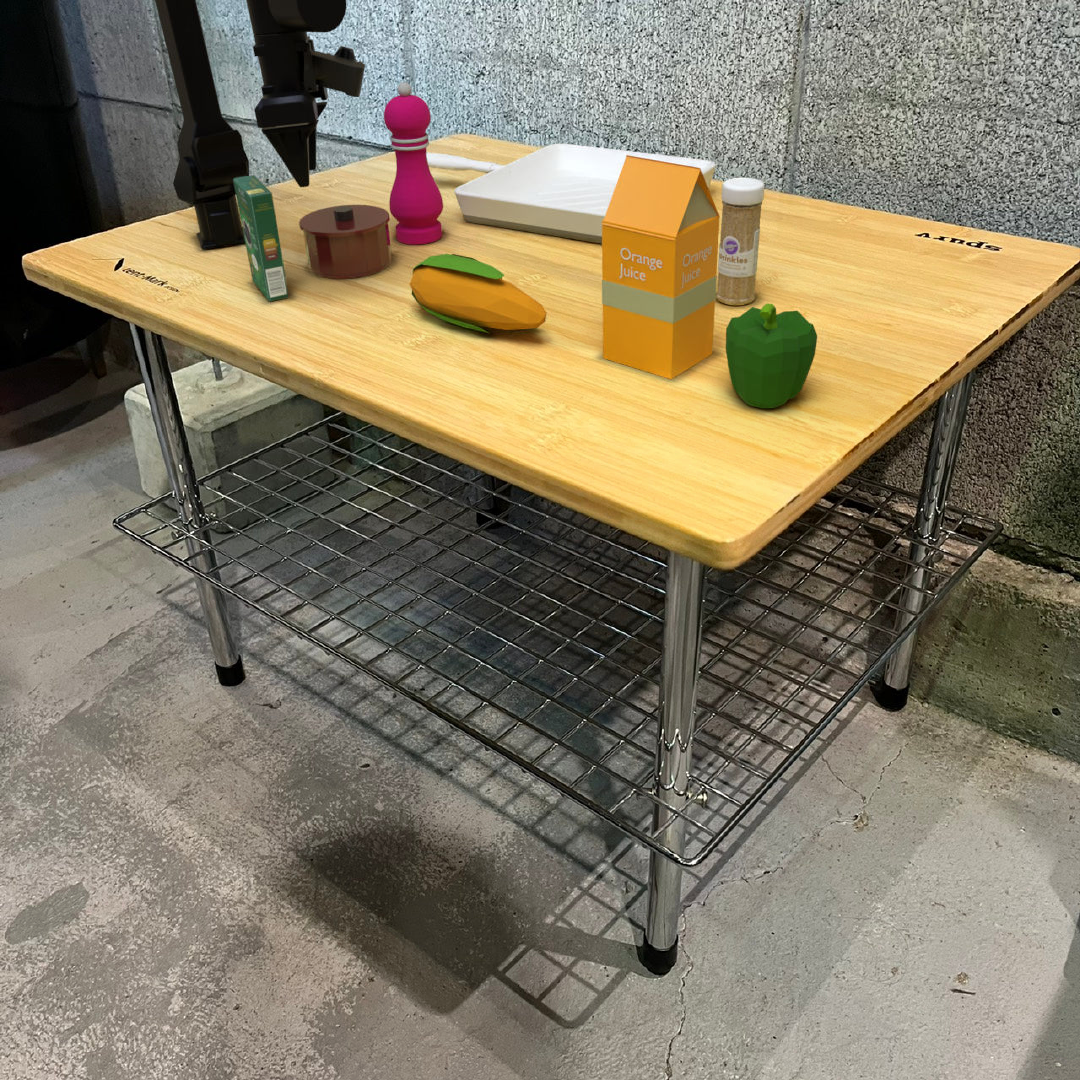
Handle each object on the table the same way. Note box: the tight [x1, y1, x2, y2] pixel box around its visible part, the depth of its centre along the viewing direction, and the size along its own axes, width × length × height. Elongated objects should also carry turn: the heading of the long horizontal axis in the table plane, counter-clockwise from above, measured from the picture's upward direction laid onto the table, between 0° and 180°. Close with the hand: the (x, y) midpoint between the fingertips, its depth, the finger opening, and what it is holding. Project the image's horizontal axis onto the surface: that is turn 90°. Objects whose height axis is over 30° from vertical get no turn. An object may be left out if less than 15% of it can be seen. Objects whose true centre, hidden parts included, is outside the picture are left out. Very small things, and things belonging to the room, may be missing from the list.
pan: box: [426, 143, 717, 245], centre depth 159 cm, size 28×45×5 cm, turn 58°
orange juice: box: [601, 155, 721, 380], centre depth 109 cm, size 8×9×20 cm
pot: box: [302, 222, 393, 280], centre depth 140 cm, size 11×11×6 cm
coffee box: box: [233, 174, 290, 302], centre depth 131 cm, size 8×3×13 cm, turn 27°
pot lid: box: [298, 204, 391, 237], centre depth 138 cm, size 11×11×2 cm
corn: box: [409, 253, 547, 334], centre depth 121 cm, size 7×8×20 cm
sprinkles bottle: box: [716, 177, 765, 306], centre depth 123 cm, size 5×5×13 cm
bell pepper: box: [725, 303, 818, 409], centre depth 103 cm, size 8×8×10 cm
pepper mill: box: [383, 81, 444, 246], centre depth 144 cm, size 7×7×20 cm
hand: (308, 178), depth 127 cm, fingers open, 9 cm apart
